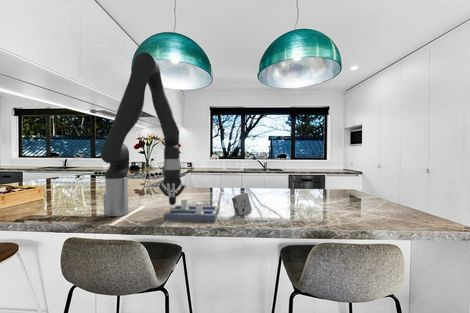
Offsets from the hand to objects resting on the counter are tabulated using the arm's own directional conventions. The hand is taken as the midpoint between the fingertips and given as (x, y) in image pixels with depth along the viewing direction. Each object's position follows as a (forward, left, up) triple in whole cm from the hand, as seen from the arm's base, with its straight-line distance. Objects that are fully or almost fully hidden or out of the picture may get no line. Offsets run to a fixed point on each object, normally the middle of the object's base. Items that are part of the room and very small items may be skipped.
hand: (172, 204), depth 108 cm
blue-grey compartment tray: (+11, -3, -4) cm, 12 cm away
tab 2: (+14, -6, -3) cm, 16 cm away
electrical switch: (+33, +3, -4) cm, 33 cm away
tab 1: (+6, 0, -3) cm, 6 cm away
